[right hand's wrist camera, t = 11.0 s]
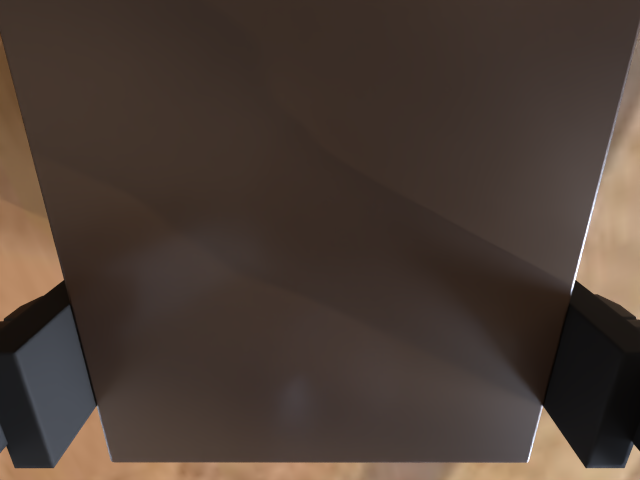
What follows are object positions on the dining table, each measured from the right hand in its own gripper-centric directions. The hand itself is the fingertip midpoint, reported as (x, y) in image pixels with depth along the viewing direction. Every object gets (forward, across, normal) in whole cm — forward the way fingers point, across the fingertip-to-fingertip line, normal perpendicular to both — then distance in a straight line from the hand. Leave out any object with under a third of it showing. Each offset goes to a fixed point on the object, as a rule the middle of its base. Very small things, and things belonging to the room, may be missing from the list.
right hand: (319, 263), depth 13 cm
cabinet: (+4, 0, -7) cm, 8 cm away
